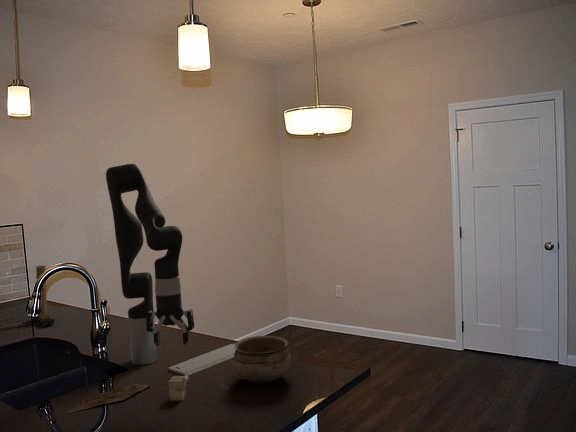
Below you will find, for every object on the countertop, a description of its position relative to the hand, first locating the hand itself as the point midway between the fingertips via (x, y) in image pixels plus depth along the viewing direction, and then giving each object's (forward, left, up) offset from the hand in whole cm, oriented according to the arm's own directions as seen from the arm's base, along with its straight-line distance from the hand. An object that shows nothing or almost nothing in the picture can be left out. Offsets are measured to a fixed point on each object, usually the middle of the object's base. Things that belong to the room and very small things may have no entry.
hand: (171, 344), depth 159 cm
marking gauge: (-4, +1, -17) cm, 17 cm away
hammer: (-89, -91, -17) cm, 129 cm away
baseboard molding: (-32, +5, -18) cm, 37 cm away
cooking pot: (-12, +26, -17) cm, 33 cm away
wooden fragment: (0, -21, -17) cm, 27 cm away
